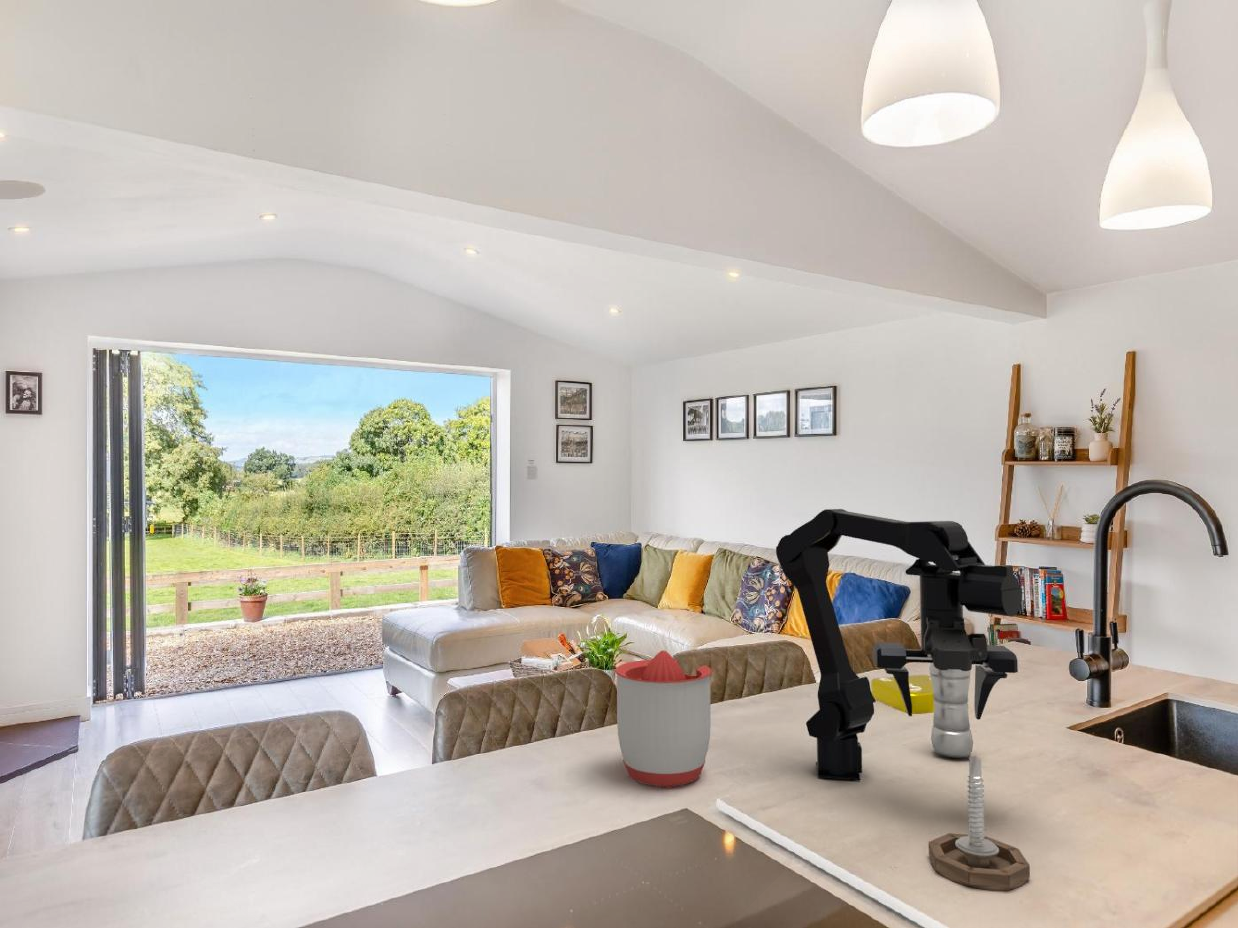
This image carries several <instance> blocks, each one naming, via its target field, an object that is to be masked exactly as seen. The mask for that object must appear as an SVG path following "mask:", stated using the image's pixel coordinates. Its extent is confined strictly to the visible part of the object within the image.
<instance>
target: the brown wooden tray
mask: <svg viewBox="0 0 1238 928" xmlns="http://www.w3.org/2000/svg"><path fill="white" fill-rule="evenodd" d="M968 835H969V834H966V833H965V834H964V833H963V834H962V833H952V832H951V833H950V832H949V833H946V834H944V835H941V836H939V837H937V838H934V839H932V840H930V841H928V855H929V857H930V864H931V866H932V868H933V869H934V871H936V872H937V873H938V874H939V875H941V876H942V877H944V878H946V879H947V880H950V881H953V882H954V883H957V884H959V885H962V886H965V887H970V888H973V889H978V890H985V891H1000V892H1001V891H1009V890H1015V889H1019V888H1021V887H1022V886H1024V885H1025V884H1026V883H1027V881H1028V879H1029V878H1030V877H1031V876H1030V875H1031V873H1030V869H1031V868H1030V864H1029V862H1028V861H1027V859H1026V857H1025V856H1024V855H1023V853H1022V852H1021V851H1020V849H1019V848H1018V847H1015V846H1012V845H1010V844H1008V843H1005V842H1002V841H999V840H997V839H994V838H991V837H989V836H986V835H985V837H984V839H987V840H989V841H991V842H993V843H994V844H995V845H996V846H997V847H998V849H999V854H998V856H996V857H993V858H990V859H989V863H990V867H987V868H975V867H972V866H968V864H967V862H966V861H965V854H964V853H962V852H960V851H959V850H958V849H957V848H956V847H955V842H956V840H958V839H959V838H961V837H964V836H968Z"/></svg>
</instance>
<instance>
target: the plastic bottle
mask: <svg viewBox="0 0 1238 928" xmlns="http://www.w3.org/2000/svg"><path fill="white" fill-rule="evenodd" d="M928 668H929V676H930V677H931V682H932V688H933V698H934V713H933V723H932V725H933V726H932V727H931V734H930V740H931V744H932V748H933V750H934V751H935V752H936V754H939V755H941V756H944V757H948V758H967V757H970V755H971V754H972V752H973V747H974V740H973V738H974V737H973V733H972V730H971V725H970V716H969V715H970V714H969V704H968V702H969V692H970V691H969V690H970V683H971V682H970V681H971V670H970V671H962V670H954V669H948V670H939V669H937V668H935V667H934V664H933V663H929V667H928Z"/></svg>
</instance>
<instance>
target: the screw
mask: <svg viewBox="0 0 1238 928" xmlns="http://www.w3.org/2000/svg"><path fill="white" fill-rule="evenodd" d="M968 760H969V761H968V763H969V764H968V765H969V767H968V768H969V769H968V770H969V775H967V777H968V780H967V783H968V785H966V786H967V788H968V790H967V793H968V795H967V798H968V799H967V802H968V805H967V807H968V810H967V812H968V815H967V817H968V818H969V819H967V821H968V822H969V824H968V825H967V827H969V829H968V831H967V832H969V834H967V835H968V836H964V837H961V838H959V839H958V840H956V842H955V847H956V848H957V849H958V850H959V851H960V852H962V853H964V854H965V861H966V862H967V864H968V866H972V867H975V868H987V867H990V863H989V859H990V858H993V857H996V856H998V854H999V849H998V847H997V846H996V845H995V844H994V843H993V842H991V841H989V840H987V839H984V837H985V836H986V834H985V832H986V829H985V827H986V825H985V821H986V820H985V819H984V818H985V816H986V815H985V809H984V807H985V804H984V803H985V799H984V797H985V795H984V793H985V790H984V787H985V785H984V784H983V783H984V779H983V778H982V760H981V758H980V757H978V756H977V755H972V756H969V757H968Z"/></svg>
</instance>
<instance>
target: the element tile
mask: <svg viewBox="0 0 1238 928" xmlns="http://www.w3.org/2000/svg"><path fill="white" fill-rule="evenodd" d="M870 684H871V685H870V689H871V693H872V695H873V697H874V699H875V700H876V702H880V703H883V704H884V705H887V706H888V707H890V708H891V707H892V708H894V709H896V710H897V711H901V712H903V713H905V714H908V713H907V710H906V707H905V704H904V701H903V699H902V696H901V693H900V690H899V687H898V685H897V682H896V680H895V678H894V676H892V677H891V676H890V677H889V676H887V677H877V678H872V679H871V683H870ZM909 687H910V695H911V702H912V715H921V714H931V713H933V714H934V698H933V688H932V682H931V677H930V675H927V674H916V675H909Z"/></svg>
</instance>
